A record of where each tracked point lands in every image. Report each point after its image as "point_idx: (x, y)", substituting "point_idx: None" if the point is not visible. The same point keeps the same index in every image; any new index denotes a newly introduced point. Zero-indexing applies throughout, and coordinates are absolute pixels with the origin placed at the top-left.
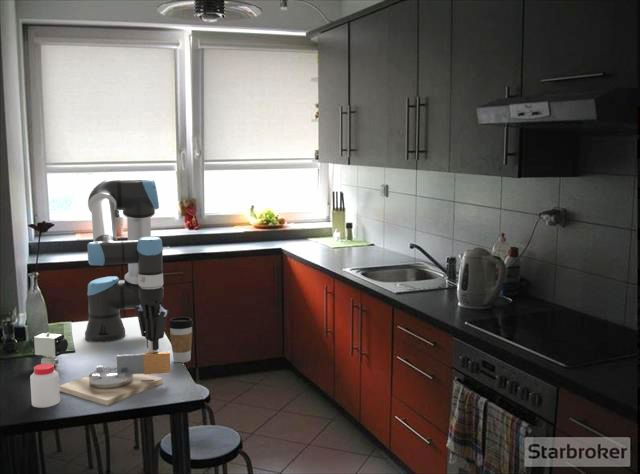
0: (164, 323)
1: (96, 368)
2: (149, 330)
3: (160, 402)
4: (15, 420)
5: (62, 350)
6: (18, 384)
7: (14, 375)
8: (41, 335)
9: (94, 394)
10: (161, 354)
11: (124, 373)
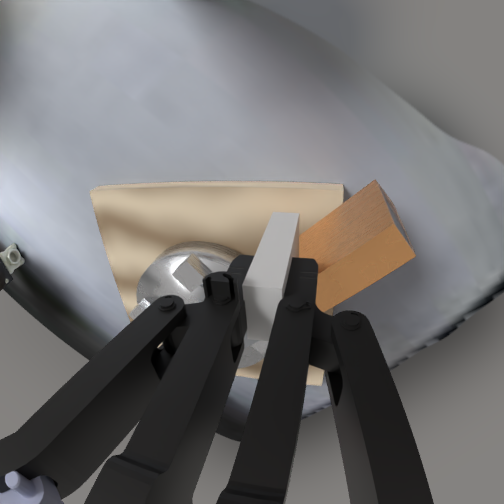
0: (412, 466)
1: None
2: (225, 385)
3: (443, 314)
4: (233, 434)
5: (3, 277)
6: (77, 341)
7: (36, 311)
8: None
9: (259, 372)
10: (373, 280)
11: None
